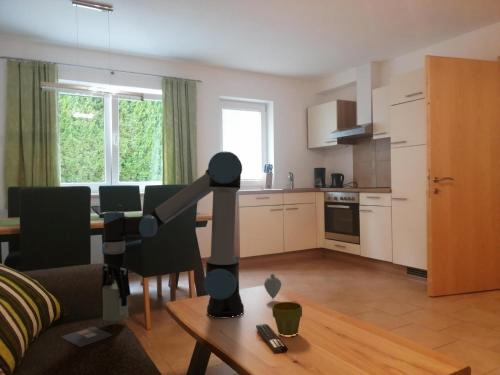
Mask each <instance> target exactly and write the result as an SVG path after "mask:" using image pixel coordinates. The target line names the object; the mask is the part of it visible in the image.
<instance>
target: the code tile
mask: <svg viewBox="0 0 500 375" xmlns="http://www.w3.org/2000/svg"><path fill="white" fill-rule="evenodd" d="M111 337H114V334H112V333H110V332H107V331H105V330H103V329H100V328H98V327H97V326H96V327H95V326H90V327H87V328H84V329H81V330H78V331H74V332H72V333H69V334H65V335H62V336H60V338H61V339H63V340H66V341H67V342H69V343H71V344H73V345H75V346H76V347H79V348H81V347H82V348H83V347H85V346H89V345H91V344H93V343H96V342H99V341H101V340H104V339H108V338H111Z"/></svg>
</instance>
